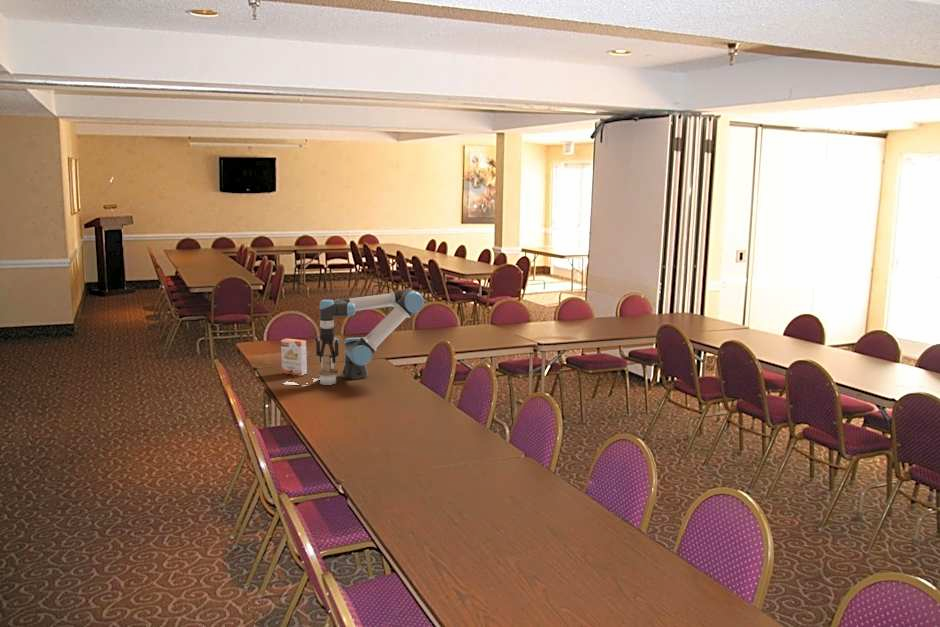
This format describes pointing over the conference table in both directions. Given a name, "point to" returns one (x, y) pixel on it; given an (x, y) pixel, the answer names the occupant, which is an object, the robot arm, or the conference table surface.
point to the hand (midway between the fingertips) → (327, 368)
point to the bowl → (327, 379)
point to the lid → (327, 366)
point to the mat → (298, 384)
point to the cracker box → (294, 356)
